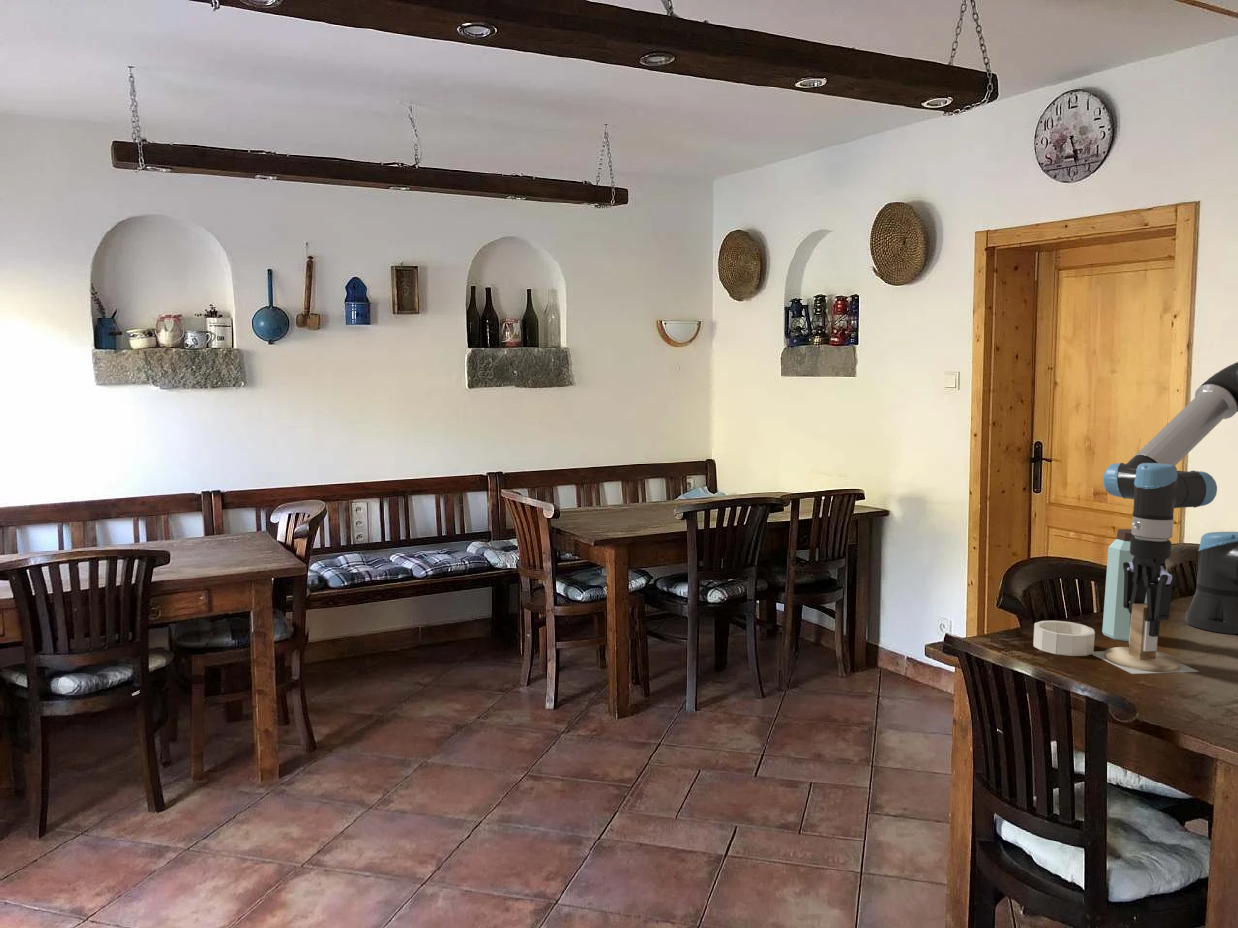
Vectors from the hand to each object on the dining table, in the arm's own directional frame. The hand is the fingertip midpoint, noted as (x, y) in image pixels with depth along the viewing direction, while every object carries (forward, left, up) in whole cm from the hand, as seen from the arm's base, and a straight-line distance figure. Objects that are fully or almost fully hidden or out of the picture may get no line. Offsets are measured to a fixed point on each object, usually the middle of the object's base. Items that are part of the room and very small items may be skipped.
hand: (1142, 647), depth 211 cm
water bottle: (-9, -18, -4) cm, 20 cm away
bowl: (+11, -11, -4) cm, 16 cm away
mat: (0, 0, -4) cm, 4 cm away
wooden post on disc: (0, 0, -3) cm, 3 cm away
